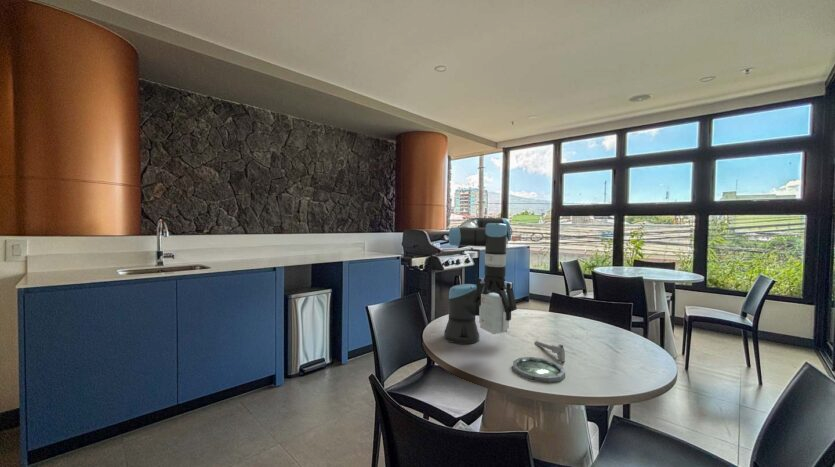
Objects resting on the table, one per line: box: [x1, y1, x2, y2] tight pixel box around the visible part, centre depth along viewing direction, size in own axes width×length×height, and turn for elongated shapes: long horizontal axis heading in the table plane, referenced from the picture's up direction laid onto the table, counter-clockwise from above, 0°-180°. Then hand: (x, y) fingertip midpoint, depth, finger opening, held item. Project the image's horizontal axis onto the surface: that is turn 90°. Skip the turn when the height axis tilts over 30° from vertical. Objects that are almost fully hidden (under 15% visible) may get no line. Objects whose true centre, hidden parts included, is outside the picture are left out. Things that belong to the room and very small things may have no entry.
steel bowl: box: [512, 356, 566, 384], centre depth 114 cm, size 16×16×2 cm
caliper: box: [534, 340, 566, 363], centre depth 132 cm, size 20×1×6 cm, turn 9°
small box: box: [479, 293, 508, 335], centre depth 123 cm, size 8×6×13 cm
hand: (493, 325), depth 123 cm, fingers closed on small box, 9 cm apart
